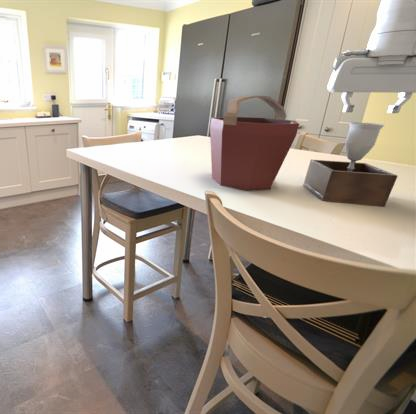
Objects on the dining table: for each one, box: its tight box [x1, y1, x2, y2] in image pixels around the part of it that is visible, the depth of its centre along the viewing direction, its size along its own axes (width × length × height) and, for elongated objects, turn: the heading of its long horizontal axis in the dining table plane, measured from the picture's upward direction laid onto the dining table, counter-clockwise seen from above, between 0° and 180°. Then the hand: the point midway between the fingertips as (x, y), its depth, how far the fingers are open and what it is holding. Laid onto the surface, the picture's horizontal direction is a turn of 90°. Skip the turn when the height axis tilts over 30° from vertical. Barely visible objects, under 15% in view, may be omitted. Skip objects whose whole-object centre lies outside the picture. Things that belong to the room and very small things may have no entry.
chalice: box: [344, 121, 385, 172], centre depth 74 cm, size 7×7×18 cm
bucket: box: [209, 95, 300, 192], centre depth 84 cm, size 24×22×25 cm
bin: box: [303, 159, 398, 207], centre depth 76 cm, size 14×14×8 cm
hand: (369, 112), depth 70 cm, fingers open, 8 cm apart
